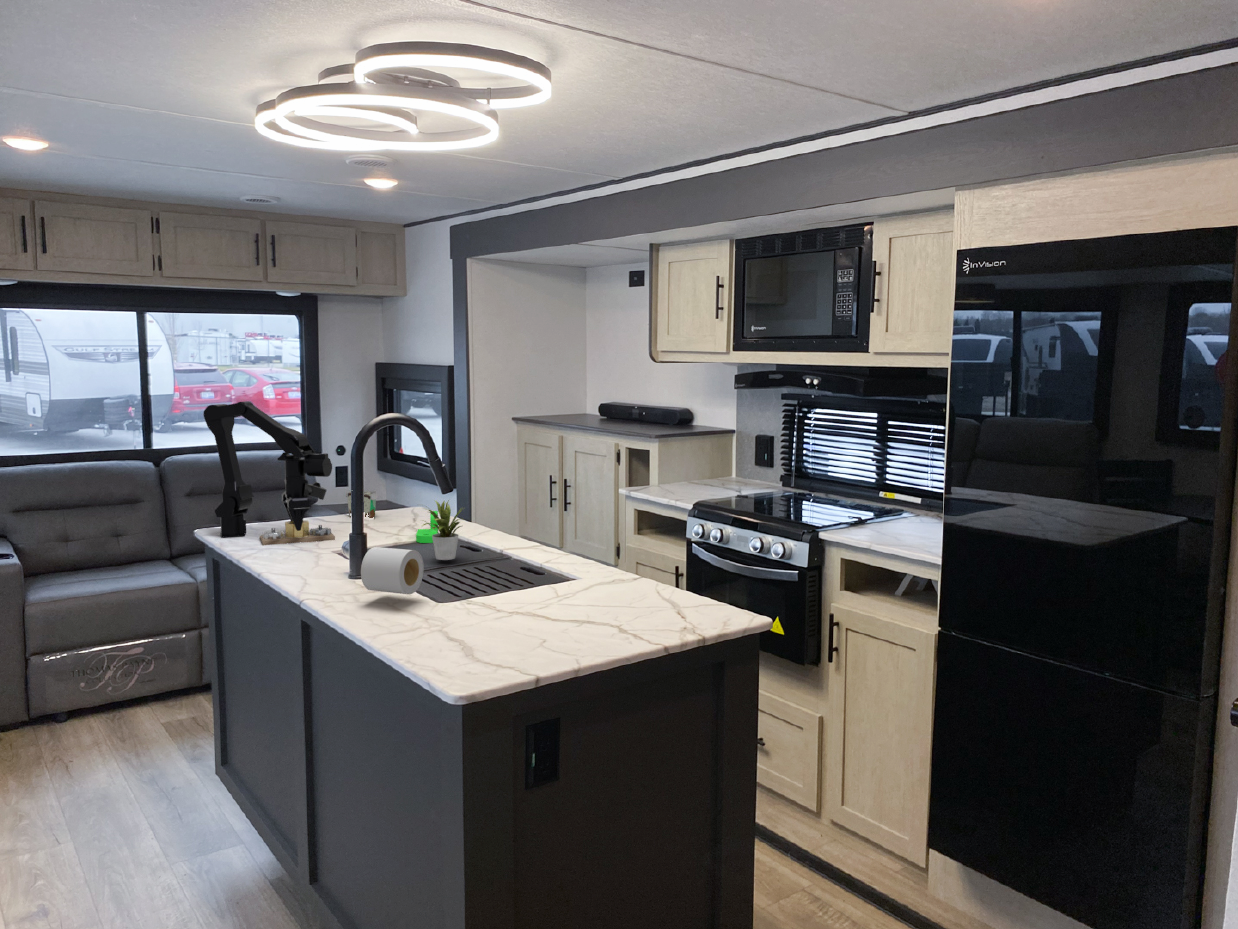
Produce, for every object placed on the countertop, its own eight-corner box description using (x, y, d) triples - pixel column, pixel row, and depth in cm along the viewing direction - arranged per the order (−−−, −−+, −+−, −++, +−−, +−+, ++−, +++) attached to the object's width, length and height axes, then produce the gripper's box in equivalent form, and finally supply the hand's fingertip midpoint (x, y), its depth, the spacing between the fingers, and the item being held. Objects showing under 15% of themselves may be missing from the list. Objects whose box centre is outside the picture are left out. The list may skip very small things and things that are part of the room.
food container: (386, 521, 303) (385, 491, 302) (372, 524, 298) (371, 493, 297) (360, 518, 310) (360, 488, 309) (346, 520, 305) (345, 490, 304)
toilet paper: (423, 589, 212) (423, 546, 211) (399, 599, 202) (398, 554, 201) (386, 585, 215) (386, 543, 214) (361, 594, 206) (360, 551, 205)
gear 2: (311, 536, 269) (311, 527, 268) (308, 533, 274) (308, 524, 274) (332, 535, 271) (332, 526, 271) (329, 531, 277) (329, 523, 276)
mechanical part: (418, 535, 279) (417, 509, 279) (438, 535, 280) (437, 509, 280) (415, 543, 268) (415, 516, 267) (436, 542, 269) (435, 515, 268)
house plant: (406, 556, 248) (405, 496, 246) (452, 550, 256) (452, 492, 255) (429, 565, 237) (428, 503, 235) (476, 558, 245) (476, 498, 243)
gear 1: (263, 540, 263) (263, 530, 262) (261, 536, 268) (261, 527, 268) (285, 538, 265) (285, 529, 265) (283, 535, 271) (283, 526, 270)
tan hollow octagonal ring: (287, 538, 265) (286, 524, 265) (284, 534, 271) (284, 521, 271) (310, 536, 268) (309, 523, 268) (307, 533, 274) (306, 519, 273)
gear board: (262, 545, 261) (262, 528, 260) (259, 539, 270) (259, 522, 269) (335, 540, 270) (334, 523, 269) (329, 534, 279) (329, 518, 278)
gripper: (328, 478, 263) (330, 531, 265) (319, 471, 280) (320, 521, 281) (288, 479, 258) (289, 534, 260) (280, 472, 275) (282, 524, 276)
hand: (296, 528), depth 269 cm, fingers open, 8 cm apart
